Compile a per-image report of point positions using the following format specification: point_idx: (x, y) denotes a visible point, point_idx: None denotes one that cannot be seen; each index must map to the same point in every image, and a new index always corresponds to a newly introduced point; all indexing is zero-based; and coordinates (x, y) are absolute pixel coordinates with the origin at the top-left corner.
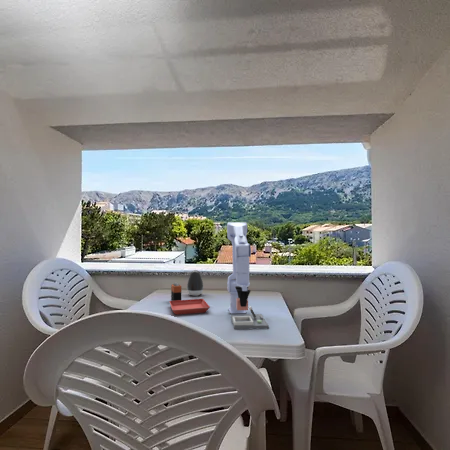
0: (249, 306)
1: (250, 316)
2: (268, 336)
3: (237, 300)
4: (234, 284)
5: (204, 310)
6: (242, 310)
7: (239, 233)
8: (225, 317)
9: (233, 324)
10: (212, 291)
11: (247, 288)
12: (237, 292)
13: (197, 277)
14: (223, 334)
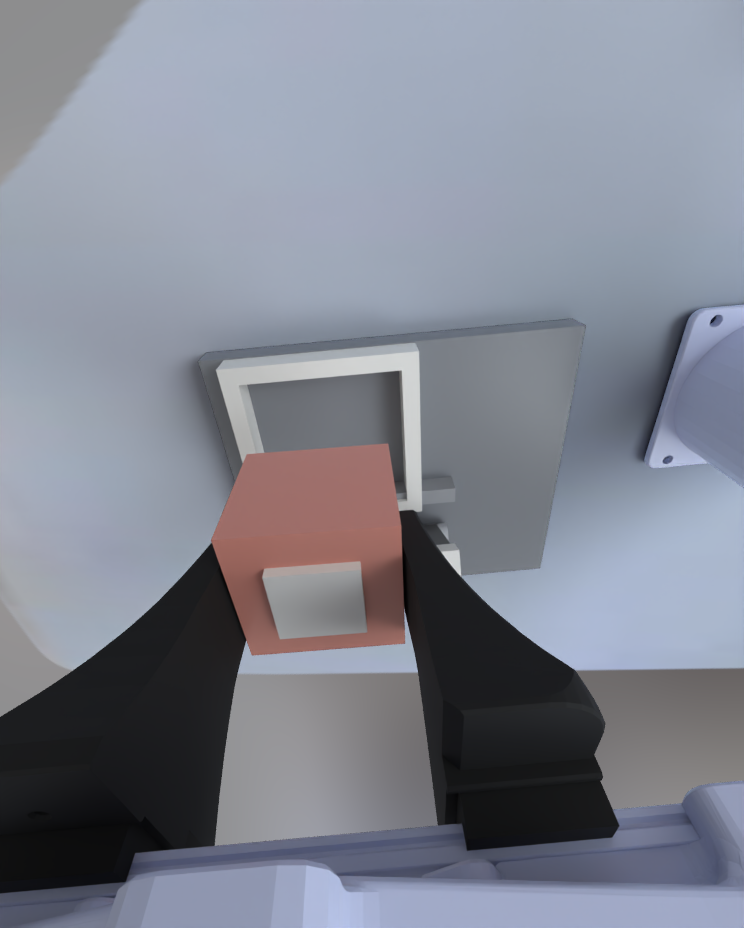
0: (458, 565)
1: (414, 510)
2: (119, 567)
3: (222, 542)
4: (112, 924)
5: None
6: (686, 442)
7: None
8: (579, 254)
9: (291, 348)
10: None
11: (438, 818)
12: (424, 623)
13: None
14: (20, 241)
